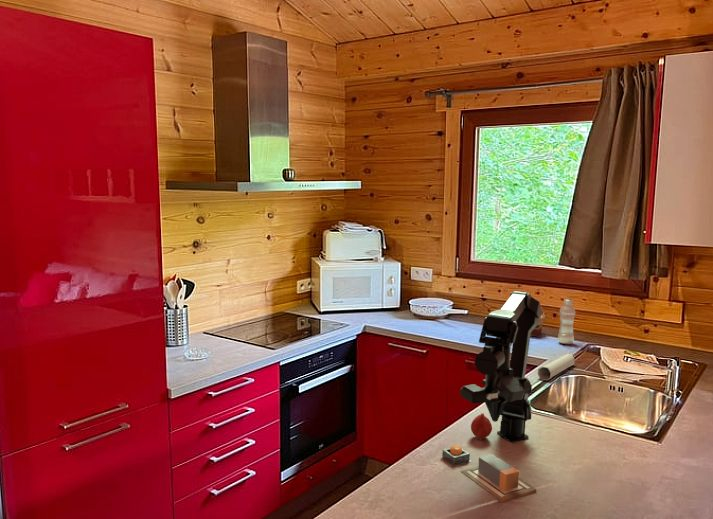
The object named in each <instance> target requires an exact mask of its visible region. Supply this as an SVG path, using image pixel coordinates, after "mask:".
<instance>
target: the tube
mask: <svg viewBox="0 0 713 519" xmlns="http://www.w3.org/2000/svg"><path fill="white" fill-rule="evenodd" d="M575 362H576V361H575V357H574V355H573V354H570V353H566V354H564V355H562V356H560V357H558V358H556V359H555V360H553V361H550V362H549V363H547V364H546V365H543V366H541V367H539V368H537V376H538V377H539V379H540V380H544V381H549V380H551V379H552V378H553V377H555V376H556V375H558V374H560V373H562V372H563V371H565V370H567V369H568V368H569V367H572V366H574V365H575Z"/></svg>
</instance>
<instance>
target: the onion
mask: <svg viewBox="0 0 713 519" xmlns="http://www.w3.org/2000/svg"><path fill="white" fill-rule="evenodd" d="M491 422H492V421H490V419H489V418H488V417H487V416H486V415H485V413H483V412H482V413H480V414H479V415H477V416H475V418H474V419H473V420H472V421H471V423H470V430H471V433H472V434H473V435H474V436H475V437H476V438H477V439H478V440H485V439H486V438H487V437H488V436H490V434H491V433H492V432H493V426H492V423H491Z"/></svg>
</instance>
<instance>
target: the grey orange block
mask: <svg viewBox="0 0 713 519" xmlns="http://www.w3.org/2000/svg"><path fill="white" fill-rule="evenodd" d="M478 466H479V467H478ZM478 466H477V467H478V472H479V473H480V474H482V475H483V476H485V477H486V478H487V479H489V480H490V481H492V482H493V483H495V484H496V485H497V486H499V487H500V488H501V489H503V490H504V491H507V490H510V489H514V488H517V487H518V482H519V478H520V470H518V469H517V468H516V467H513V466H512V465H510V464H508V463H507V462H505V461H503V460H502V459H500V458H499V457H497V456H496V455H494V454H492V453H490V454H485V455H482V456H479V457H478Z"/></svg>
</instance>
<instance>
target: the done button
mask: <svg viewBox="0 0 713 519" xmlns="http://www.w3.org/2000/svg"><path fill="white" fill-rule="evenodd" d="M449 448H450V453H451V454H452V455H454V456H457V455H461V454H462V449H463V448H462V446H459V445H451V446H450V447H449Z"/></svg>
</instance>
